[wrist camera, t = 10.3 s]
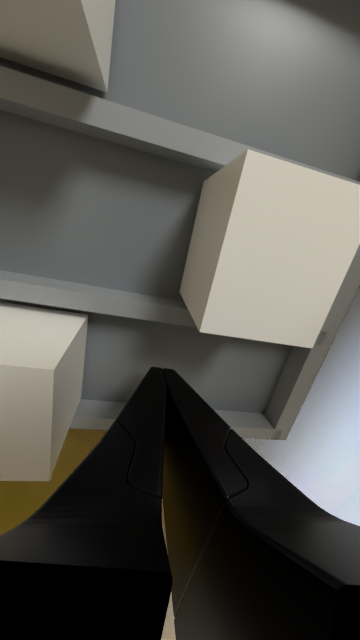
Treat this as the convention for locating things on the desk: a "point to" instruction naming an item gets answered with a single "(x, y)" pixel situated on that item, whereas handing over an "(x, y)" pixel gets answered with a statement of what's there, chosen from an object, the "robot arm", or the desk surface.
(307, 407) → the desk surface
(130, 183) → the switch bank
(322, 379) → the desk surface
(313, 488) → the desk surface
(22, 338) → the cream block
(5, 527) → the desk surface
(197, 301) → the beige squarish block
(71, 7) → the cream squarish block
